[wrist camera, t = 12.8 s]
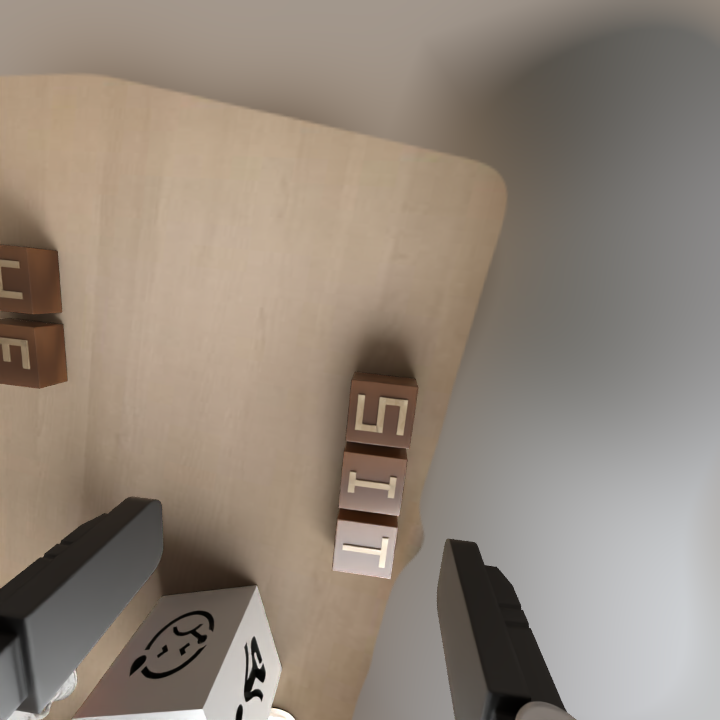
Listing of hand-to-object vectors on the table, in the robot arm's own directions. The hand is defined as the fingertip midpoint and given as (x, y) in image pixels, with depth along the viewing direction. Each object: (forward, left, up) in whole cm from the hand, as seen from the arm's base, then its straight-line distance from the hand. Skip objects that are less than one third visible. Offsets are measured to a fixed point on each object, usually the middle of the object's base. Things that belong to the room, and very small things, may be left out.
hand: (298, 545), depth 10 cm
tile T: (+14, +2, -19) cm, 24 cm away
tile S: (+2, +2, -19) cm, 19 cm away
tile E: (+1, -28, -19) cm, 34 cm away
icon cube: (+28, -11, -19) cm, 36 cm away
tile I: (+8, +2, -19) cm, 21 cm away
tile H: (-5, -28, -19) cm, 34 cm away
